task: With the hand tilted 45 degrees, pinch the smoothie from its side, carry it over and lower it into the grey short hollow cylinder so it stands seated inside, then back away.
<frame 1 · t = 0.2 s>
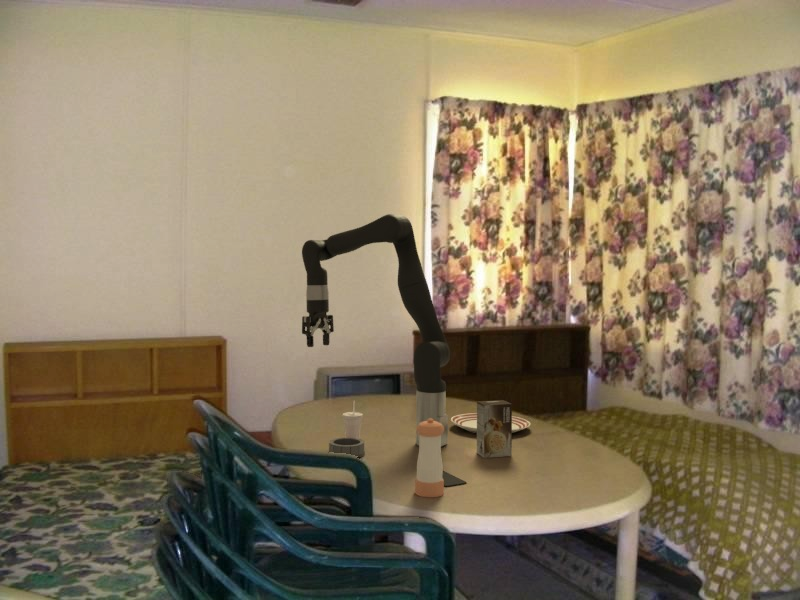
hand: (318, 346, 267), 28 cm above the table, tool pointing down, fingers open, 8 cm apart
smoothie: (352, 444, 247), on the table
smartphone: (441, 480, 212), on the table
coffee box: (493, 455, 236), on the table
salt shaker: (429, 493, 199), on the table
dinner plate: (490, 430, 270), on the table
grey short hollow cylinder: (346, 454, 235), on the table
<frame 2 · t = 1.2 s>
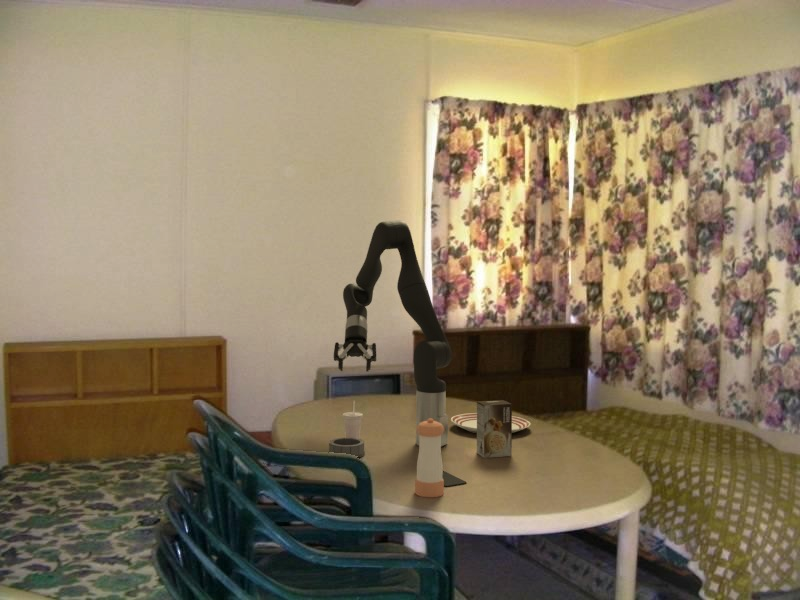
hand: (354, 369, 257), 22 cm above the table, tool tilted 45°, fingers open, 8 cm apart
nothing on the table moved.
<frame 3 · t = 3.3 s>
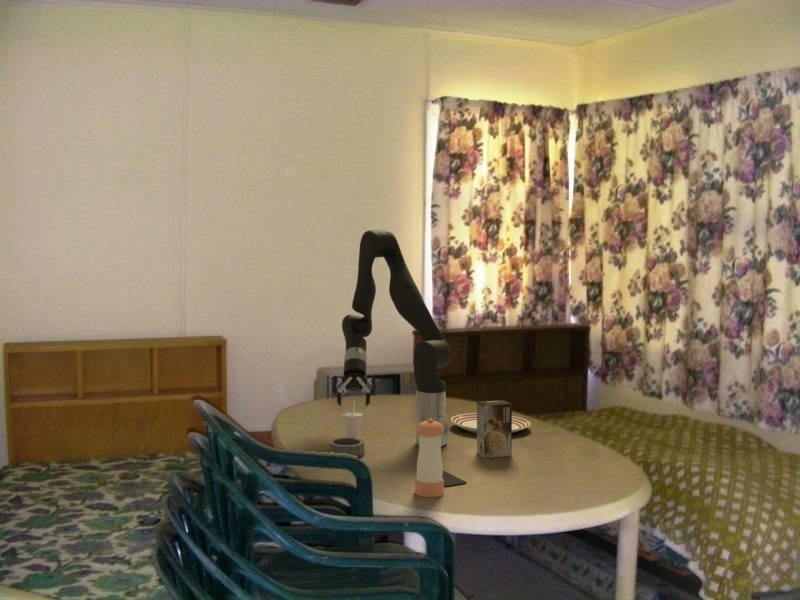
hand: (353, 404, 251), 12 cm above the table, tool tilted 45°, fingers open, 8 cm apart
nothing on the table moved.
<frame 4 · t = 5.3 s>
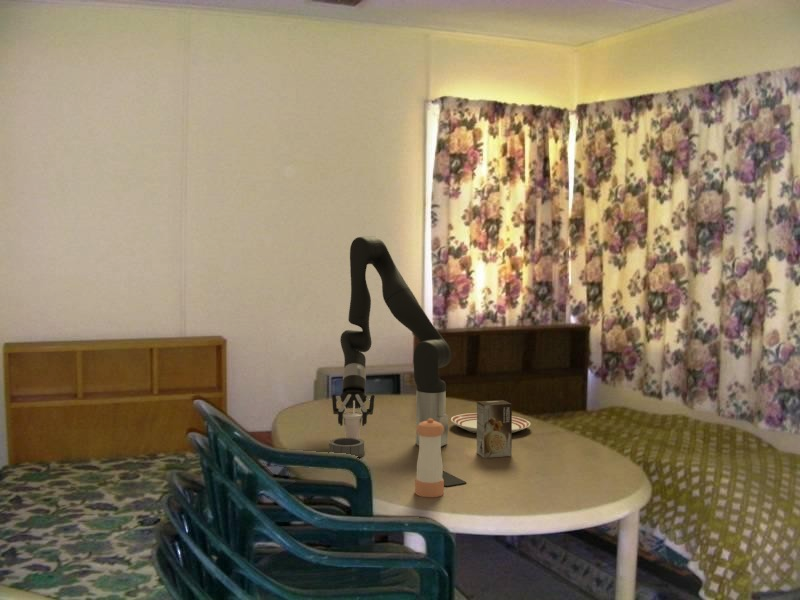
hand: (352, 424, 245), 7 cm above the table, tool tilted 45°, fingers closed on smoothie, 6 cm apart
smoothie: (352, 444, 247), on the table, touching gripper
everything else where it was.
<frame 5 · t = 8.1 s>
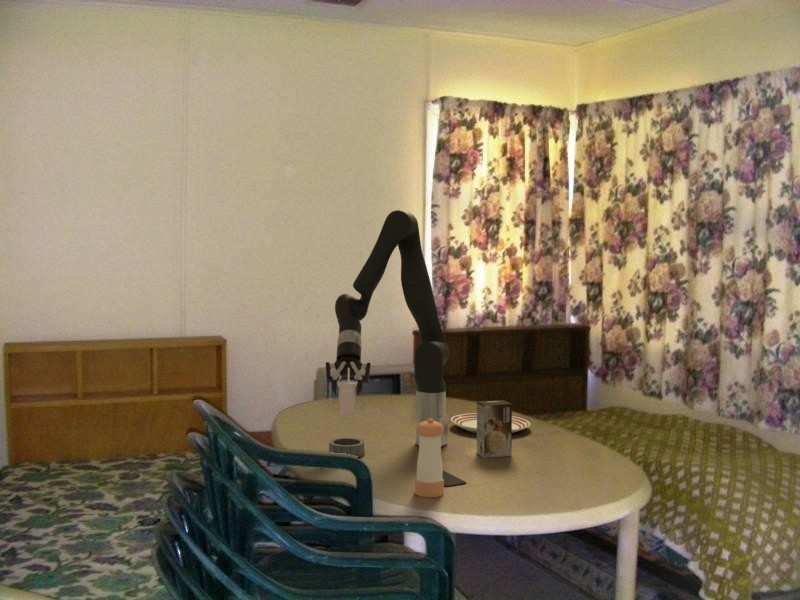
hand: (346, 392, 232), 19 cm above the table, tool tilted 45°, fingers closed on smoothie, 6 cm apart
smoothie: (347, 414, 234), point 12 cm above the table, touching gripper
everything else where it was.
when the fingers open (9 cm above the table, at t = 11.0 s): smoothie drops 1 cm, resting on grey short hollow cylinder.
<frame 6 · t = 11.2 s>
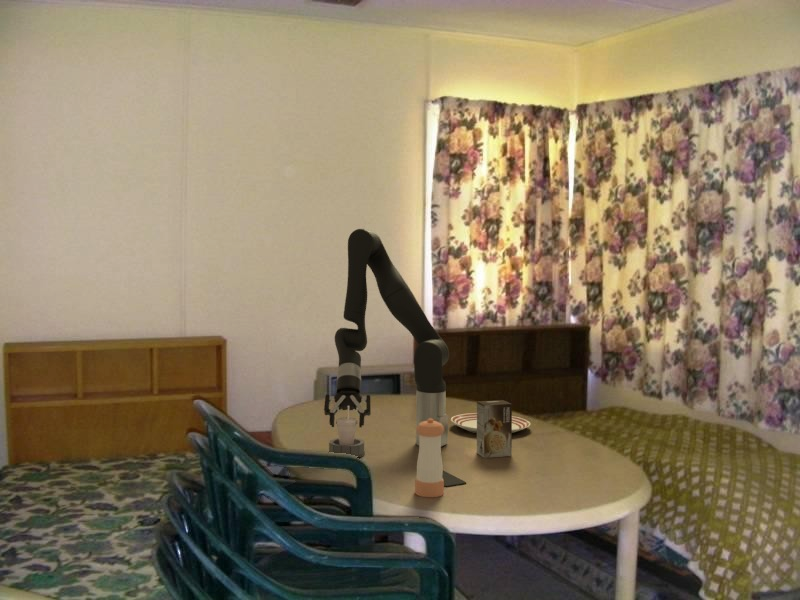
hand: (346, 425, 233), 9 cm above the table, tool tilted 45°, fingers open, 8 cm apart
smoothie: (346, 452, 235), point 1 cm above the table, touching grey short hollow cylinder
everything else where it was.
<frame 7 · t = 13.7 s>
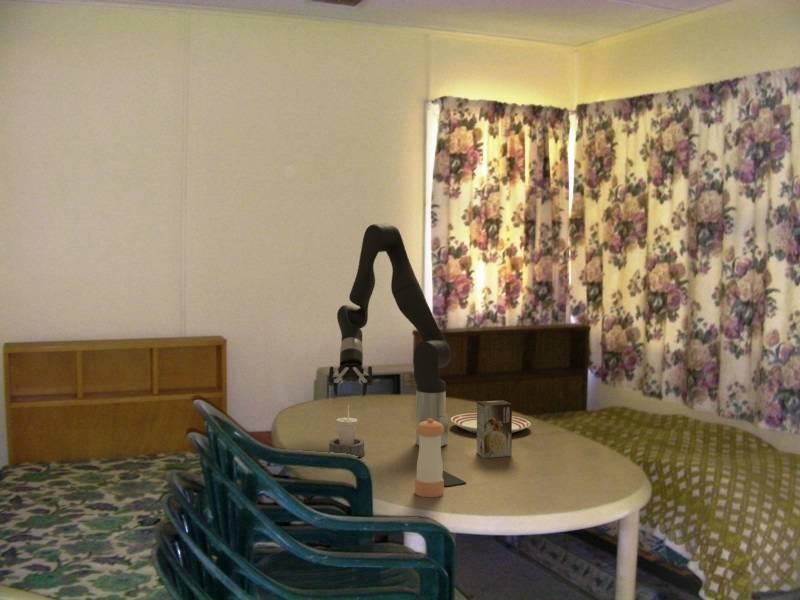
hand: (350, 394, 248), 15 cm above the table, tool tilted 45°, fingers open, 8 cm apart
nothing on the table moved.
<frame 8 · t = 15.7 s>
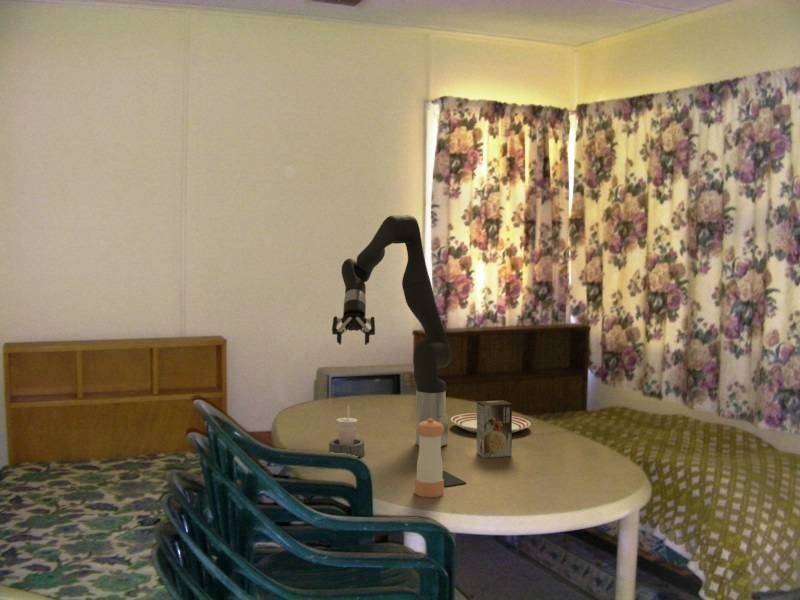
hand: (353, 343, 256), 31 cm above the table, tool tilted 45°, fingers open, 8 cm apart
nothing on the table moved.
at the end: smoothie 0.2 cm from the grey short hollow cylinder (horizontally); smoothie point 0.6 cm above the table; smoothie tilted 0° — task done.
